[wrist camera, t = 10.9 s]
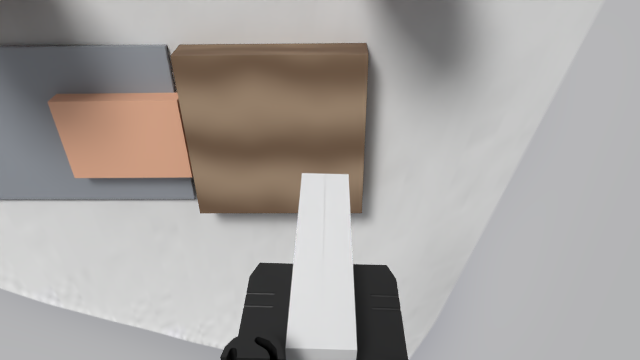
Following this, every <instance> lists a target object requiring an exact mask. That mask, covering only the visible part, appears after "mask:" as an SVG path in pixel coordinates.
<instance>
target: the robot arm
mask: <svg viewBox="0 0 640 360" xmlns="http://www.w3.org/2000/svg"><path fill="white" fill-rule="evenodd" d="M220 358H221V360H408V356H407V350H406V343H405V336H404V329H403V322H402V316H401V311H400V302H399V298H398V288H397V282H396V278H395V277H394V275H393V274H392V272H391V271H390V269H389V268H388V267H387V265H359V264H353V255H352V234H351V214H350V193H349V174H317V173H302V178H301V189H300V199H299V210H298V220H297V231H296V241H295V252H294V263H293V264H282V263H259V265H258V266H257V267H256V269H255V270H254V271H253V273H252V274H251V275H250V278H249V283H248V288H247V295H246V298H245V304H244V309H243V314H242V319H241V324H240V329H239V335H238V337H236V338H234V339H233V340H232V341H231V342H230V343H228V344H227V345H226V346H225V348H224V350H223V353H222V355H221V357H220Z"/></svg>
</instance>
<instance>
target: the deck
mask: <svg viewBox="0 0 640 360" xmlns="http://www.w3.org/2000/svg"><path fill="white" fill-rule="evenodd" d="M171 62H172V67H173V72H174V77H175V83H176V88H177V93H178V98H179V104H180V109H181V114H182V120H183V125H184V130H185V135H186V141H187V146H188V151H189V156H190V162H191V167H192V172H193V177H194V183H195V188H196V193H197V198H198V204H199V209H200V213H298V210H299V199H300V189H301V178H302V173H317V174H349V193H350V213H362V194H363V170H364V147H365V124H366V100H367V77H368V50H367V45H366V43H325V44H204V45H179V46H178V47H177V48H176V50H175V51H174V52H173V53H172V55H171Z"/></svg>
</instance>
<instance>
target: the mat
mask: <svg viewBox="0 0 640 360" xmlns="http://www.w3.org/2000/svg"><path fill="white" fill-rule="evenodd" d="M94 93H176V92H175V87H174V82H173V77H172V71H171V66H170V61H169V56H168V51H167V45H83V46H0V199H195V197H196V196H195V191H194V186H193V181H192V177H179V178H75V177H74V175H73V172H72V169H71V166H70V164H69V161H68V158H67V155H66V152H65V150H64V147H63V144H62V141H61V138H60V136H59V133H58V130H57V127H56V125H55V122H54V119H53V116H52V113H51V111H50V108H49V105H48V101H49V100H50V99H51V98H52V97H54V96H55V95H56V94H94Z"/></svg>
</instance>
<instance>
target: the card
mask: <svg viewBox="0 0 640 360" xmlns="http://www.w3.org/2000/svg"><path fill="white" fill-rule="evenodd" d="M48 105H49V108H50V111H51V113H52V116H53V119H54V122H55V125H56V127H57V130H58V133H59V136H60V138H61V141H62V144H63V147H64V150H65V152H66V155H67V158H68V161H69V164H70V166H71V169H72V172H73V175H74V177H75V178H179V177H192V176H193V172H192V167H191V162H190V156H189V151H188V146H187V141H186V135H185V130H184V125H183V120H182V114H181V109H180V104H179V98H178V93H94V94H56V95H55V96H54V97H52V98H51V99H50V100H49V101H48Z"/></svg>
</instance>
